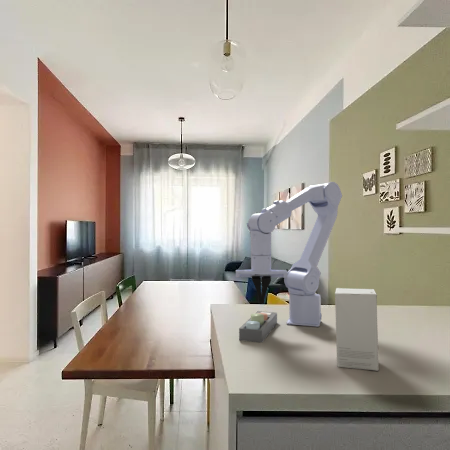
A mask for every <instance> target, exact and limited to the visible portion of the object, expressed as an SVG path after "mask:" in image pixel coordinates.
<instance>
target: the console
mask: <svg viewBox="0 0 450 450" xmlns="http://www.w3.org/2000/svg"><path fill="white" fill-rule="evenodd" d="M255 313H266V314H267V315H268V320H267V321H266V320H264V325H260V329H259V330H255V329H246V322H249V321H251V317H250V318H249V319H247V320H246V322H244V323H243V325H241V326H240V327H239V328H238V333H239V335H238V337H239V338H238V339H239V341H244V342H251V343H252V342H254V343H263V342H264V341H265V339H266V338H267V337H268V336H269V334H270V333H271V332H272V330H273V329H274V327H275V326H276V325H277V323H278V312H273V311H262V310H261V311H259V310H258V311H257V312H255Z"/></svg>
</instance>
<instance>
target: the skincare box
mask: <svg viewBox="0 0 450 450" xmlns="http://www.w3.org/2000/svg"><path fill="white" fill-rule="evenodd" d="M334 300H335V301H334V304H335V305H334V306H335V307H334V308H335V309H334V310H335V333H336V334H335V335H336V336H335V337H336V338H335V339H336V342H335V343H336V366H337V368H344V369H345V368H346V369H354V370H355V369H357V370H368V371H374V372H375V371H376V372H377V371H379V369H380V366H379V365H380V364H379V339H378V337H379V336H378V335H379V332H378V330H379V329H378V304H377V303H378V294H377V293H376V291H375V289H374V288H347V287H346V288H345V287H342V288H341V287H336V288H335V292H334Z"/></svg>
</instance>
